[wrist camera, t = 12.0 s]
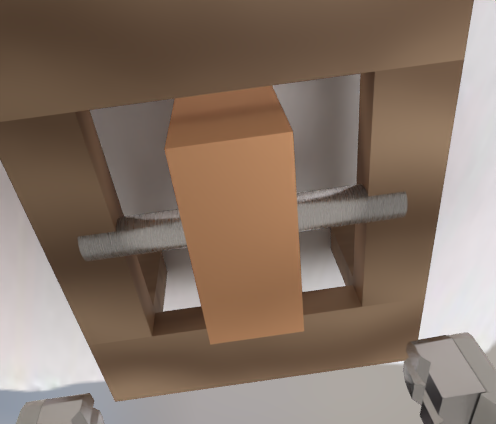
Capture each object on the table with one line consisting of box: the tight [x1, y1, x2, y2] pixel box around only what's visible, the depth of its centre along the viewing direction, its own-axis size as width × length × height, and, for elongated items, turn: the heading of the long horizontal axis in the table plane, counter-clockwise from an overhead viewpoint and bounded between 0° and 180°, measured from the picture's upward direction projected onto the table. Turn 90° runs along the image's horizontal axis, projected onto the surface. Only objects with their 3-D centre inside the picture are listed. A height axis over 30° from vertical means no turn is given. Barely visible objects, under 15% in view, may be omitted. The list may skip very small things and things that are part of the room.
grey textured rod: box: [78, 184, 407, 261], centre depth 17 cm, size 2×13×2 cm, turn 96°
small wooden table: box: [0, 0, 474, 402], centre depth 21 cm, size 20×16×10 cm
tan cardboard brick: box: [164, 85, 304, 345], centre depth 19 cm, size 9×4×8 cm, turn 6°
